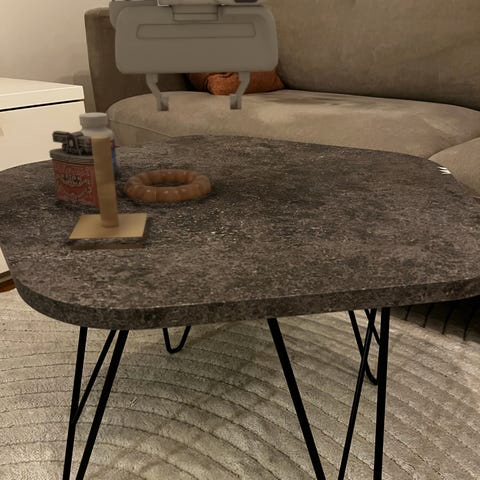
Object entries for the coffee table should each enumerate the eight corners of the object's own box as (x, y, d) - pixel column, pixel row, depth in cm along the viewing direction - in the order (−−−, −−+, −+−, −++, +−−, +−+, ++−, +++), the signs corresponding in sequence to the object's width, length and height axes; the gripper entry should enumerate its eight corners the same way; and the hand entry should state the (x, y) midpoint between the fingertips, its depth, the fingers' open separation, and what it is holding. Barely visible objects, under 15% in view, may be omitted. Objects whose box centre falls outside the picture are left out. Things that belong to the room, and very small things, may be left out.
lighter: (115, 211, 77) (106, 133, 73) (97, 218, 75) (87, 137, 70) (70, 202, 81) (59, 126, 76) (51, 208, 78) (39, 131, 74)
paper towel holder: (70, 250, 65) (54, 144, 60) (82, 226, 72) (69, 129, 67) (143, 248, 66) (134, 143, 60) (148, 224, 73) (140, 128, 67)
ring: (120, 212, 77) (118, 191, 76) (129, 187, 88) (127, 168, 86) (212, 210, 78) (211, 189, 76) (210, 185, 88) (210, 166, 87)
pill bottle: (111, 186, 88) (103, 118, 83) (76, 185, 88) (67, 117, 84) (123, 177, 92) (116, 111, 88) (90, 175, 93) (82, 111, 89)
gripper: (103, -11, 67) (116, 115, 74) (281, -13, 68) (279, 112, 75) (110, -10, 73) (122, 107, 79) (275, -12, 74) (273, 104, 80)
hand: (199, 109), depth 77 cm, fingers open, 8 cm apart
